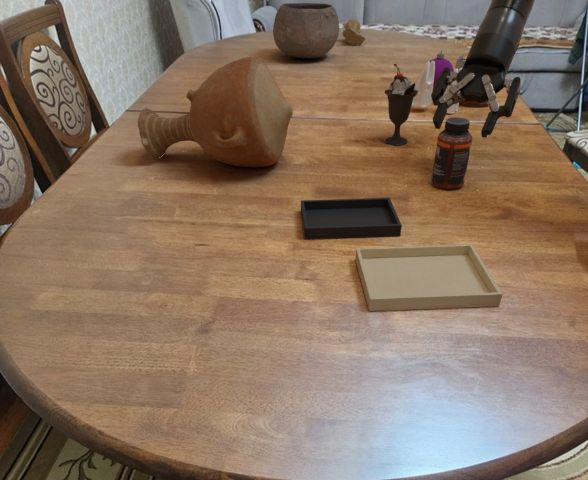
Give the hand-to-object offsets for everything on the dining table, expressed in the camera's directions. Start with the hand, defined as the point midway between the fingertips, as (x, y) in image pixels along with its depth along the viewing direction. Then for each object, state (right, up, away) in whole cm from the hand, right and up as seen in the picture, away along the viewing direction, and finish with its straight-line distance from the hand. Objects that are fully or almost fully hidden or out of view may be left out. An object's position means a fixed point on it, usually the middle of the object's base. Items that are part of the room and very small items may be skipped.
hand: (459, 131), depth 96 cm
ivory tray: (-11, -29, -20) cm, 37 cm away
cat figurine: (-8, +71, +99) cm, 122 cm away
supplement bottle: (-1, -8, +5) cm, 9 cm away
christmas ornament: (+9, +31, +51) cm, 60 cm away
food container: (+15, +23, +42) cm, 50 cm away
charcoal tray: (-20, -18, -7) cm, 28 cm away
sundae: (-7, +6, +22) cm, 24 cm away
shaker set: (+5, +20, +38) cm, 43 cm away
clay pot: (-25, +56, +82) cm, 103 cm away
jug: (-44, 0, +15) cm, 46 cm away
